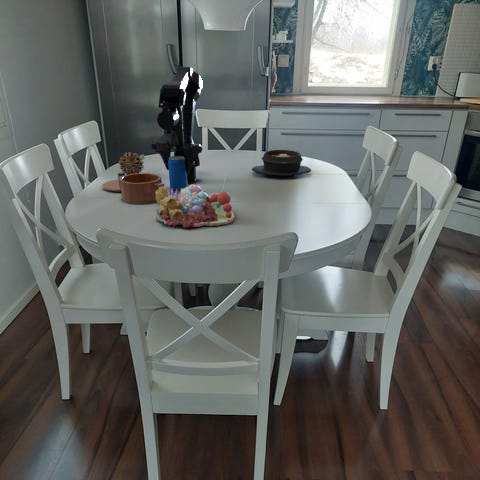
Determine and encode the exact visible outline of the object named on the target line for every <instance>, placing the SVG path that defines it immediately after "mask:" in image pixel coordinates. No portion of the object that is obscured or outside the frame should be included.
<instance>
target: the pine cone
mask: <svg viewBox="0 0 480 480" xmlns="http://www.w3.org/2000/svg"><path fill="white" fill-rule="evenodd" d="M119 159H120V160H118V164H119V170H121V171H120V172H124V173H125V175H130V174H137V173H142V172H143V169H144V167H145V165H143V164H144V163H145V162H144V161H143V160H145V159H146V157H145V155H144V154H139V155H138V154H137V152H134V153H133V152H131V151H129V152H128V153H127V152H125V153H123V156H121V157H119Z"/></svg>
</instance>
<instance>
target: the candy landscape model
mask: <svg viewBox="0 0 480 480" xmlns="http://www.w3.org/2000/svg"><path fill="white" fill-rule="evenodd" d="M155 193H156V197H155V198H156V201H157V202H156V203H157V205H158V208H157V209H156V210H155V211H156V212H157V213H158V214H157V215H156V216H155V220H158V221H159V222H162V223H163V224H164V225H168V226H173V228H175V227H177V226H178V225H181V226H183V228H185V229H186V228H194V227H195V228H196V227H198V228H199V227H202V226H208V227H213V226H220V225H222V226H223V225H228V224H231V223H233V222H234V221H235V212H234V211H233V210H232V209H233V205H232V204H231V200H232V198H231V195H230V193H228V192H227V191H221V192H219V193H216V192H214V193H212V194H210V195H211V196H210V197H209V194H208V193H207V191H206V190H204V189H202V188H201V187H200V186H199V185H197V184H193V183H191V184H189V186H188V187H186V188H184V189H183V190H182V188H181V192H180V193H177V190H176V192H175V193H174V192H173V188H172V189H171V190H170V188H168V186H165V185H164V186H161V187H160V188H158V190H156V192H155Z"/></svg>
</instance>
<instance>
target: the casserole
mask: <svg viewBox="0 0 480 480" xmlns="http://www.w3.org/2000/svg"><path fill="white" fill-rule="evenodd" d="M261 160H262V162H263V164H261V165H255V166H253V167H252V168H251V171H252V172H253V173H256V174H262V175H263V174H264V175H269V176H271V177H276V178H288V177H289V178H290V177H293V176H294V177H295V175H304V174H310V173H311V172H312V171H313V170H312V169H311V168H310V167H309V166H306V165H301V163H302V162H303V160H304V159H303V157H302V154H301V153H300V152H299V151H295V150H290V149H288V150H287V149H272V150H267V151H265V152H264V153H263V156H262V157H261Z"/></svg>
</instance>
